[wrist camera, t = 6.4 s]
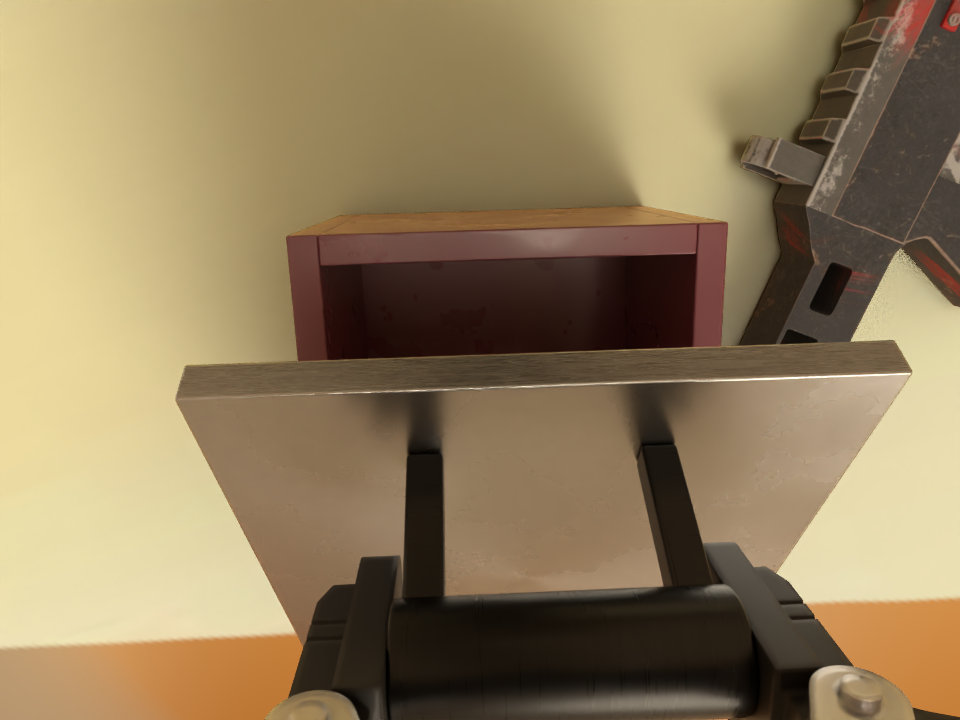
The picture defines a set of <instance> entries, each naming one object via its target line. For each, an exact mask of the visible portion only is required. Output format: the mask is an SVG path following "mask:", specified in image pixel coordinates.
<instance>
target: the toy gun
mask: <svg viewBox="0 0 960 720" xmlns="http://www.w3.org/2000/svg"><path fill="white" fill-rule="evenodd" d="M863 3H864V7H863V9H862V11H861V13H860V15H859V18H858V20H857V22H856V24H855V25H852V26H850V27H849V29H848V32H847V34H846V36H845V38H844V40H843V42H842V45H841V49H842V55H841V57H840V59H839V61H838V63H837V66H836V68H835V70H834V72H833V73H829V74H828V75H827V78H826V80H825V82H824V84H823V86H822V88H821V91H820V97H821V101H820V103H819V105H818V107H817V109H816V111H815V114H814V116H813V118H812V120H807V121H806V124H805V126H804V128H803V130H802V132H801V135H800V137H799V142H800V146H799V145H796V144H794V143H791V142H789V141H787V140H784V139H782V138H777V139H776V140H773V139H770V138H766V137H762V136H755V135H753V136H751V138H750V140H749V142H748V144H747V147H746V149H745V151H744V154H743V156H742V158H741V160H740V162H741V163H742V164H741V166H740V167H742V168H744V169H747V170H749V171H752V172H754V173H757V174H759V175H762V176H764V177H767V178H769V179H772V180H774V181H777V182H779V183H782V186H781V188H780V190H779V192H778V194H777V197H776V199H775V201H774V206H775V212H776V216H777V223H778V235H779V241H780V245H781V249H782V252H783V253H782V255H781V258H780V260H779V262H778V264H777V266H776V268H775V270H774V273H773V275H772V277H771V279H770V281H769V283H768V285H767V287H766V290H765V292H764V294H763V296H762V298H761V300H760V302H759V304H758V307H757V309H756V311H755V313H754V315H753V317H752V319H751V322H750V324H749V326H748V328H747V330H746V332H745V334H744V336H743V339H742V341H741V343H740V345H739V346H745V345H773V344H801V343H829V342H850V341H851V339H852V337H853V335H854V333H855V331H856V329H857V327H858V325H859V323H860V321H861V319H862V317H863V315H864V313H865V311H866V309H867V307H868V305H869V303H870V301H871V299H872V297H873V295H874V293H875V291H876V289H877V287H878V285H879V283H880V281H881V279H882V277H883V275H884V273H885V271H886V269H887V267H888V265H889V264H890V262H891V260H892V258H893V256H894V255H895V253H896V252H897V251H898V250H899V249H900V248H901V247H902V248H903V249H904V251H905V252H906V253H907V254H908V255H909V256H910V257H911V258H912V260H913V261H914V262H915V263H916V264H917V265H918V266H919V267H920V268H921V270H922V271H923V272H924V273H925V274H926V275H927V276H928V277H929V278H930V280H931V281H932V282H933V283H934V284H935V285H936V286H937V287H938V289H939V290H940V291H941V292H942V293H943V294H944V295H945V296H946V297H947V299H948V300H949V301H950V302H951V303H952V304H953V305H954V306H958V307H960V0H863Z"/></svg>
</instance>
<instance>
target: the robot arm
mask: <svg viewBox="0 0 960 720" xmlns="http://www.w3.org/2000/svg"><path fill="white" fill-rule="evenodd" d="M703 546H704V550H705V553H706V557H707V561H708V564H709V568H710V572H711V575H712V579H713V583H714V584H724V585H727V586H729V587H731V588H732V589H733V590H734V591H735V593H736V594H737V596H738V597H739V599H740V601H741V603H742V605H743V607H744V609H745V612H746V614H747V617H748V620H749V623H750V626H751V630H752V634H753V638H754V642H755V648H756V654H757V662H758V696H757V702H756V705H755V708H754V710H753V712H752V713H751V714H750V715H749V716H747V717H746V718H737V719H728V720H960V717H955V716H950V715H944V714H938V713H933V712H928V711H924V710H920V709H916V708H913V707H912V706H911V703H910V701H909V700H908V698H907V697H906V696H905V694H904V693H903V692H902V691H901V690H900V689H899V688H898V687H896V686H895V685H894V684H892V683H891V682H890V681H888V680H887V679H885V678H883V677H881V676H879V675H877V674H875V673H873V672H870V671H867V670H864V669H860V668H857V667H854V666H853V665H852V663H851V662H850V661H849V660H848V659H847V657H846V656H845V654H844V653H843V652H842V650H841V649H840V648H839V647H838V645H837V644H836V643H835V641H834V640H833V639H832V637H831V636H830V635H829V634H828V632H827V631H826V630H825V628H824V627H823V626H822V625H821V623H820V622H819V621H818V619H815V617H814V614H813V613H812V611H811V610H810V609H809V608H808V606H807V605H806V604H803V600H802V598H801V597H800V596H799V595H798V593H797V592H796V591H795V589H794V588H793V587H792V585H791V584H790V583H789V582H788V581H787V580H785V579H784V578H782V577H781V576H779V575H778V574H776V573H775V572H773V571H772V570H770V569H769V568H767V567H753V566H752V564H751V563H750V561H749V560H748V559H747V557H746V556H745V554H744V553H743V552H742V550H741V549H740V547H739V546H738V545H737V543H735V542H712V543H703ZM402 588H403V581H402V566H401V558H400V555H394V556H371V557H362V558H361V560H360V564H359V569H358V573H357V578H356V582H355V584H344V585H333V586H332V587H331V588H330V589H329V590H328V591H327V592H326V593H325V594H324V595H323V597H322V598H321V599H320V600H319V601H318V602H317V604H316V608H315V611H314V614H313V618H312V621H311V625H310V627H309V631H308V634H307V637H306V638H307V640H306V642H305V644H304V647H303V651H302V654H301V657H300V661H299V664H298V667H297V670H296V674H295V678H294V680H293V684H292V687H291V691H290V694H289V697H288V699H286V700H284V701H283V702H281V703H280V704H278V705H277V706H276V707H275V708H274V709H273V710H271V712H270V713H269V714H268V715H267V717H266V718H265V720H389V719H388V710H387V694H386V641H387V626H388V616H389V610H390V606H391V603H392V601H393V600H394V599H396V598H402Z"/></svg>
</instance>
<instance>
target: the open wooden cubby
mask: <svg viewBox="0 0 960 720" xmlns="http://www.w3.org/2000/svg"><path fill="white" fill-rule="evenodd" d="M727 233H728V223H727V222H724V221H719V220H713V219H708V218H703V217H698V216H692V215H687V214H682V213H677V212H671V211H666V210H661V209H656V208H650V207H645V206H624V207H591V208H559V209H526V210H494V211H461V212H429V213H396V214H364V215H340V216H338V217H335V218H332V219H330V220H327V221H324V222H322V223H319V224H317V225H314V226H312V227H309V228H306V229H304V230H301V231H299V232H296V233H293V234H291V235H288V236H287V237H286V241H287V252H288V262H289V273H290V283H291V293H292V304H293V314H294V325H295V335H296V345H297V356H298V361H322V360H350V359H378V358H407V357H435V356H463V355H491V354H519V353H548V352H576V351H604V350H632V349H660V348H688V347H717V346H721V335H722V318H723V301H724V284H725V267H726V250H727Z"/></svg>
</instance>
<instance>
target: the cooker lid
mask: <svg viewBox="0 0 960 720" xmlns="http://www.w3.org/2000/svg"><path fill="white" fill-rule="evenodd" d="M911 375H912V370H911V368H910V366H909V365H908V363H907V361H906V359H905V358H904V356H903V354H902V352H901V351H900V349H899V347H898V346H897V344H896V342H895V341H893V340H886V341H858V342H829V343H801V344H773V345H745V346H717V347H688V348H660V349H632V350H604V351H576V352H548V353H519V354H491V355H463V356H435V357H407V358H378V359H350V360H322V361H294V362H266V363H238V364H209V365H187V366H185V367H184V371H183V374H182V377H181V381H180V384H179V387H178V390H177V394H176V397H175V401H176V403H177V404H178V406H179V408H180V410H181V412H182V414H183V416H184V418H185V420H186V422H187V424H188V426H189V428H190V430H191V431H192V433H193V435H194V437H195V439H196V441H197V443H198V445H199V447H200V449H201V451H202V453H203V455H204V457H205V458H206V460H207V462H208V464H209V466H210V468H211V470H212V472H213V474H214V476H215V478H216V480H217V482H218V483H219V485H220V487H221V489H222V491H223V493H224V495H225V497H226V499H227V501H228V503H229V505H230V507H231V509H232V510H233V512H234V514H235V516H236V518H237V520H238V522H239V524H240V526H241V528H242V530H243V532H244V534H245V536H246V537H247V539H248V541H249V543H250V545H251V547H252V549H253V551H254V553H255V555H256V557H257V559H258V561H259V562H260V564H261V566H262V568H263V570H264V572H265V574H266V576H267V578H268V580H269V582H270V584H271V586H272V588H273V589H274V591H275V593H276V595H277V597H278V599H279V601H280V603H281V605H282V607H283V609H284V611H285V613H286V615H287V616H288V618H289V620H290V622H291V624H292V626H293V628H294V630H295V632H296V634H297V636H298V638H299V640H300V641H301V643H302V645H303V647H304V644H305V642H306V640H307V638H306V637H307V634H308V631H309V627H310V625H311V621H312V618H313V614H314V611H315V608H316V604H317V602H318V601H319V600H320V599H321V598H322V597H323V595H324V594H325V593H326V592H327V591H328V590H329V589H330V588H331V587H332V586H333V585H344V584H355V582H356V578H357V573H358V569H359V564H360V560H361V558H362V557H371V556H394V555H400V558H401V566H402V581H403V588H402V598H396V599H394V600H393V601H392V603H391V606H390V610H389V616H388V626H387V641H386V694H387V710H388V719H389V720H716V719H737V718H746V717H747V716H749V715H750V714H751V713H752V712H753V710H754V708H755V705H756V702H757V696H758V662H757V654H756V648H755V642H754V638H753V634H752V630H751V626H750V623H749V620H748V617H747V614H746V612H745V609H744V607H743V605H742V603H741V601H740V599H739V597H738V596H737V594H736V593H735V591H734V590H733V589H732V588H731V587H729V586H727V585H724V584H714V583H713V579H712V575H711V572H710V568H709V564H708V561H707V557H706V553H705V550H704V546H703V543H712V542H735V543H737V545H738V546H739V547H740V549H741V550H742V552H743V553H744V554H745V556H746V557H747V559H748V560H749V561H750V563H751V564H752V566H753V567H767V568H769V569H770V570H772V571H773V572H775V573H776V572H777V571H778V569H779V568H780V567H781V565H782V564H783V562H784V561H785V559H786V558H787V556H788V555H789V553H790V552H791V550H792V549H793V547H794V546H795V545H796V543H797V542H798V540H799V539H800V537H801V536H802V534H803V533H804V531H805V530H806V528H807V527H808V525H809V524H810V523H811V521H812V520H813V518H814V517H815V515H816V514H817V512H818V511H819V509H820V508H821V506H822V505H823V504H824V502H825V501H826V499H827V498H828V496H829V495H830V493H831V492H832V490H833V489H834V487H835V486H836V484H837V483H838V482H839V480H840V479H841V477H842V476H843V474H844V473H845V471H846V470H847V468H848V467H849V465H850V464H851V462H852V461H853V460H854V458H855V457H856V455H857V454H858V452H859V451H860V449H861V448H862V446H863V445H864V443H865V442H866V440H867V439H868V438H869V436H870V435H871V433H872V432H873V430H874V429H875V427H876V426H877V424H878V423H879V421H880V420H881V418H882V417H883V416H884V414H885V413H886V411H887V410H888V408H889V407H890V405H891V404H892V402H893V401H894V399H895V398H896V397H897V395H898V394H899V392H900V391H901V389H902V388H903V386H904V385H905V383H906V382H907V380H908V379H909V377H910V376H911Z"/></svg>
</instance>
